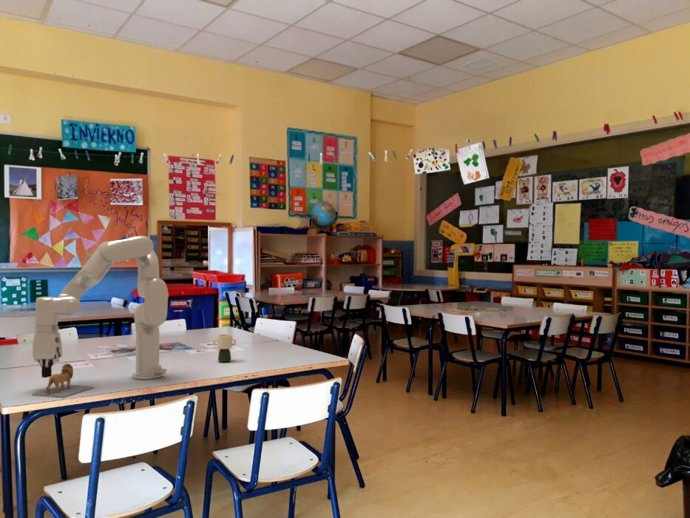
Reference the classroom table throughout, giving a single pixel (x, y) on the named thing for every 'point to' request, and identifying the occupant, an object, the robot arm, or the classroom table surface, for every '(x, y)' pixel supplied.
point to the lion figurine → (61, 378)
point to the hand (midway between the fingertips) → (46, 376)
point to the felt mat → (64, 391)
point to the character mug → (224, 346)
